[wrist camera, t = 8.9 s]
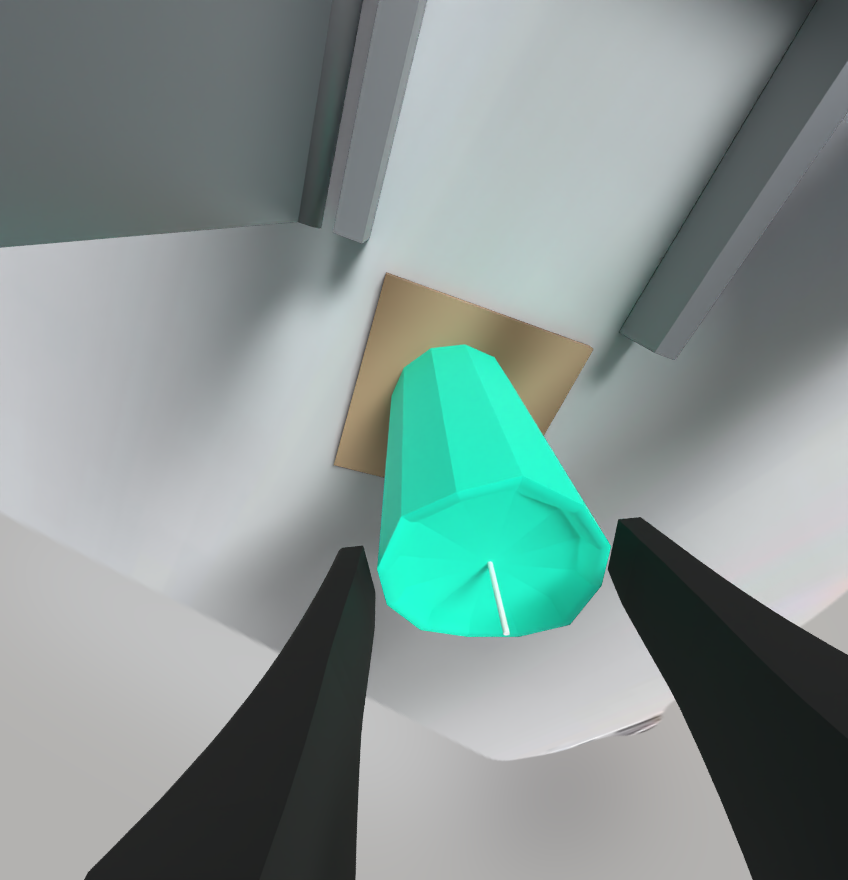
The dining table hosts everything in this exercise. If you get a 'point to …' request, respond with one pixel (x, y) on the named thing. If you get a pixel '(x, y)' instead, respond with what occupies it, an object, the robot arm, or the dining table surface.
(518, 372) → the tan pad
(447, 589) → the candle
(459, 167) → the dining table surface
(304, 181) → the grey bracket
